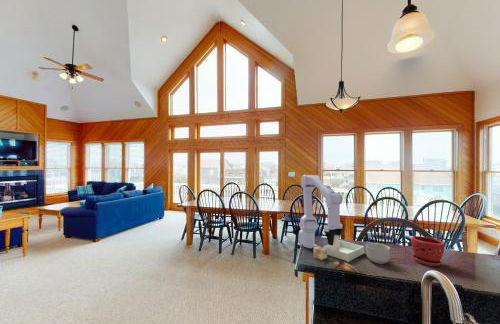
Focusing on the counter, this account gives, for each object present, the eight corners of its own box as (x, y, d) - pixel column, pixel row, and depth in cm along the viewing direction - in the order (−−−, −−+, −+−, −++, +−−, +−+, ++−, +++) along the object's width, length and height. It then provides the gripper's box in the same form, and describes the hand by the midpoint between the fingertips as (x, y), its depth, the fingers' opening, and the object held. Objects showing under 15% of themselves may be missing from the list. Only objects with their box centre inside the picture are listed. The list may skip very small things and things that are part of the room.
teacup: (389, 268, 105) (388, 251, 105) (364, 262, 111) (364, 246, 112) (391, 259, 116) (391, 244, 116) (368, 254, 122) (368, 239, 123)
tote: (323, 253, 122) (323, 246, 122) (340, 246, 134) (340, 240, 134) (348, 261, 111) (348, 253, 111) (364, 253, 123) (364, 246, 123)
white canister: (326, 248, 110) (326, 235, 111) (331, 246, 114) (331, 233, 114) (335, 251, 106) (335, 237, 107) (341, 249, 110) (341, 235, 110)
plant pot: (431, 269, 104) (431, 244, 105) (405, 258, 117) (405, 236, 117) (451, 266, 107) (450, 242, 108) (423, 256, 120) (423, 234, 121)
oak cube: (313, 257, 116) (313, 247, 117) (318, 255, 120) (318, 246, 120) (321, 260, 113) (321, 250, 113) (326, 258, 116) (326, 248, 116)
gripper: (333, 220, 103) (333, 249, 103) (348, 216, 112) (348, 243, 112) (320, 217, 109) (320, 245, 108) (335, 214, 118) (335, 239, 117)
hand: (333, 243), depth 110 cm, fingers closed on white canister, 5 cm apart
